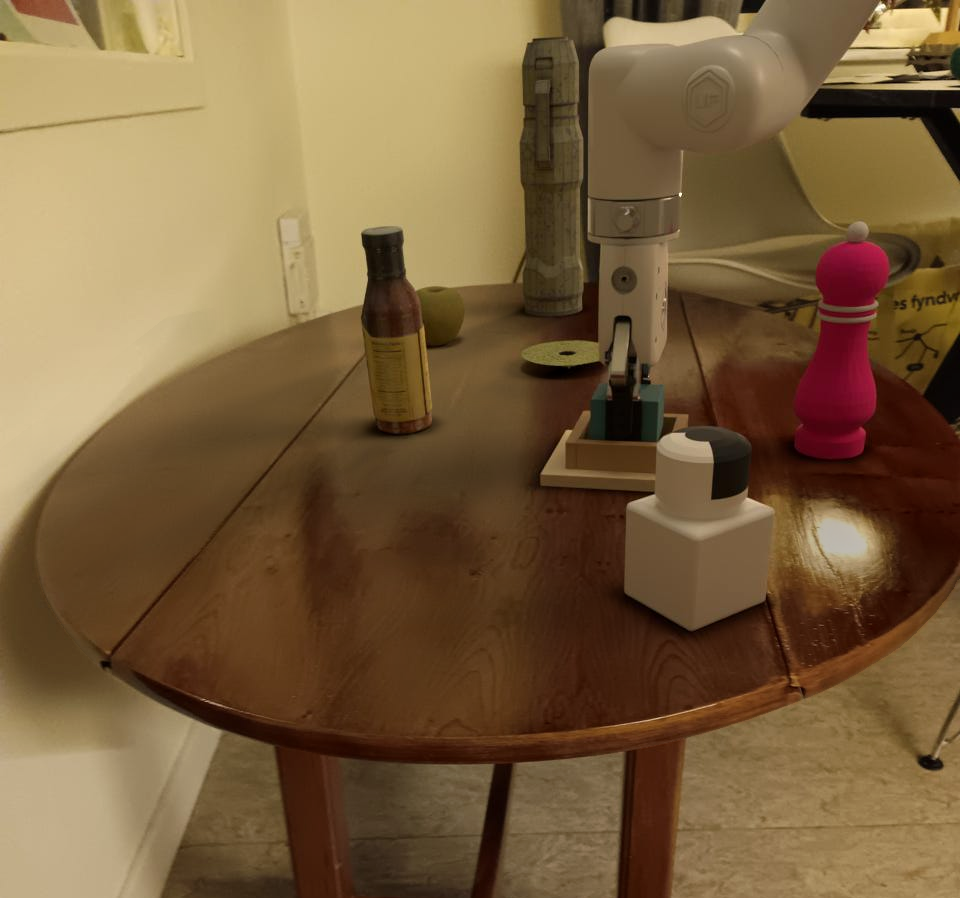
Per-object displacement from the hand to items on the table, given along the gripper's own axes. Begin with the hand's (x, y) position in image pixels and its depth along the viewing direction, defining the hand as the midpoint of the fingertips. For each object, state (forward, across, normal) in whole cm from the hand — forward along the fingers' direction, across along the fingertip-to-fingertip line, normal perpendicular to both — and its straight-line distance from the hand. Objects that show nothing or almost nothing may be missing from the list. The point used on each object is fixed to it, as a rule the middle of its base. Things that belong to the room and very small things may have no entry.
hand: (627, 430), depth 91 cm
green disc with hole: (+4, +32, +12) cm, 34 cm away
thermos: (+4, +62, +20) cm, 65 cm away
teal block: (0, 0, 0) cm, 0 cm away
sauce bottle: (+4, +8, +25) cm, 26 cm away
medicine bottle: (+4, -25, -8) cm, 26 cm away
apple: (+4, +42, +32) cm, 53 cm away
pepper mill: (+4, +7, -18) cm, 20 cm away
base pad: (+4, 0, 0) cm, 4 cm away
